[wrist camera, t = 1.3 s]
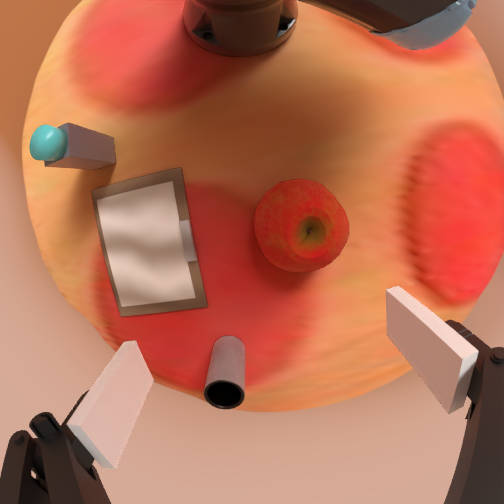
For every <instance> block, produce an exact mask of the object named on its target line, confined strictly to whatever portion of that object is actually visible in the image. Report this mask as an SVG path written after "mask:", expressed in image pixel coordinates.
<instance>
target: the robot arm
mask: <svg viewBox="0 0 504 504" xmlns="http://www.w3.org/2000/svg"><path fill="white" fill-rule="evenodd" d="M299 1H302V2H305V3H307V4H310V5H313V6H316V7H318V8H321V9H323V10H326V11H328V12H331V13H333V14H335V15H337V16H340V17H342V18H344V19H346V20H349V21H351V22H353V23H355V24H357V25H359V26H361V27H363V28H365V29H367V30H368V31H369V32H370V33H372V34H374V35H376V36H382V37H384V38H386V39H388V40H389V41H391V42H393V43H395V44H397V45H399V46H401V47H403V48H405V49H409V50H420V49H421V50H425V49H429V48H432V47H434V46H437V45H439V44H441V43H443V42H444V41H446V40H447V39H449V38H450V37H452V36H453V35H454V34H455V33H456V32H458V31H459V30H460V29H461V28H462V27H463V26H464V25H465V23H466V22H467V21H468V19H469V18H470V16H471V15H472V12H471V9H473V8H474V7H475V6H476V3H477V0H299ZM297 16H298V7H297V3H296V0H186V1H185V5H184V9H183V19H184V23H185V26H186V28H187V31H188V33H189V35H190V36H191V38H192V39H193V40H194V41H195V42H196V43H197V44H198V45H199V46H201V47H203V48H204V49H206V50H208V51H211V52H213V53H216V54H220V55H225V56H235V57H241V56H252V55H257V54H261V53H264V52H267V51H270V50H272V49H274V48H276V47H277V46H279V45H281V44H282V43H283V42H284V41H285V40H286V39H287V38H288V37H289V36H290V35H291V33H292V32H293V30H294V27H295V24H296V20H297ZM386 311H387V336H388V337H389V338H390V340H391V341H392V342H393V343H394V345H395V346H396V347H397V348H398V350H399V351H400V352H401V353H402V355H403V356H404V357H405V358H406V360H407V361H408V362H409V363H410V365H411V366H412V367H413V368H414V370H415V371H416V372H417V373H418V375H419V376H420V377H421V379H422V380H423V381H424V382H425V384H426V385H427V386H428V388H429V389H430V390H431V392H432V393H433V394H434V396H435V397H436V398H437V400H438V401H439V402H440V404H441V405H442V406H443V408H444V409H445V410H446V411H447V413H448V414H450V413H452V412H454V411H456V410H457V409H459V408H461V407H463V406H464V403H465V400H466V397H467V396H468V397H469V398H470V400H471V401H472V402H471V405H470V407H469V410H468V413H467V416H466V418H465V419H468V420H467V425H466V430H465V435H464V439H463V444H462V448H461V452H460V455H459V459H458V463H457V466H456V470H455V473H454V476H453V479H452V482H451V485H450V488H449V491H448V494H447V497H446V499H445V502H444V504H504V348H503V347H495V348H492V349H491V348H490V347H489V346H488V345H486V344H485V343H484V342H483V341H482V340H480V339H479V338H478V337H476V336H475V335H474V334H472V332H470V331H469V330H467V329H466V328H465V327H464V326H463V325H461V324H460V323H458V322H455V321H453V320H448V321H445V322H444V321H443V320H441V319H440V318H439V317H438V316H436V315H435V314H434V313H433V312H432V311H430V310H429V309H428V308H426V307H425V306H424V305H423V304H421V303H420V302H419V301H418V300H416V299H415V298H414V297H412V296H411V295H410V294H409V293H407V292H406V291H405V290H403V289H402V288H401V287H399V286H396V287H392V288H389V289H386ZM153 382H154V379H153V377H152V375H151V373H150V371H149V369H148V367H147V365H146V362H145V360H144V358H143V356H142V354H141V351H140V349H139V347H138V345H137V342H136V340H134V341H126V342H123V344H122V345H121V346H120V348H119V349H118V351H117V352H116V353H115V355H114V356H113V358H112V359H111V360H110V362H109V363H108V364H107V366H106V367H105V369H104V370H103V371H102V373H101V374H100V376H99V377H98V378H97V380H96V381H95V383H94V384H93V386H92V387H91V388H90V390H88V391H87V392H85V393H84V394H83V395H82V396H81V397H80V399H79V400H78V401H77V404H76V405H75V406H74V407H73V410H71V412H70V413H69V415H68V416H67V418H66V419H65V421H64V422H63V423H62V425H61V426H60V425H59V423H58V422H57V421H56V419H55V418H54V416H53V415H52V414H51V413H49V412H43V413H40V414H38V415H36V416H35V417H34V418H33V419H32V420H31V422H30V424H29V427H30V428H31V430H32V431H33V432H34V433H35V435H36V436H37V437H38V438H32V437H31V435H30V434H29V433H28V432H27V431H25V430H21V431H17V432H16V433H14V434H13V435H12V437H11V438H10V440H9V444H8V448H7V451H6V455H5V459H4V463H3V468H2V472H1V477H0V504H111V502H110V500H109V498H108V496H107V494H106V491H105V489H104V488H103V485H102V482H101V480H100V478H99V475H98V473H97V470H96V469H95V467H94V466H93V465H92V463H93V461H94V459H95V460H96V461H97V462H98V463H99V464H100V466H101V467H104V468H110V469H116V468H117V466H118V463H119V461H120V458H121V456H122V453H123V451H124V449H125V446H126V444H127V442H128V439H129V437H130V434H131V432H132V430H133V427H134V425H135V423H136V420H137V418H138V416H139V413H140V411H141V409H142V407H143V404H144V402H145V400H146V398H147V395H148V393H149V391H150V389H151V386H152V384H153ZM31 470H32V471H33V472H34V473H35V474H36V479H35V478H33V477H32V476H31Z"/></svg>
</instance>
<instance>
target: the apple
mask: <svg viewBox="0 0 504 504" xmlns="http://www.w3.org/2000/svg"><path fill="white" fill-rule="evenodd" d="M253 227H254V231H255V236H256V239H257V242H258V244H259V247H260V249H261V251H262V253H263V255H264V256H265V257H266V258H267V259H268V260H269V262H270V263H271V264H273V265H274V266H276V267H278V268H280V269H282V270H285V271H289V272H309V271H314V270H317V269H320V268H323V267H325V266H327V265H328V264H330V263H331V262H332V261H333V260H334V259H335V258H336V257H337V256H338V255H339V254H340V252H341V251H342V249H343V247H344V246H345V244H346V242H347V239H348V236H349V222H348V219H347V216H346V213H345V211H344V209H343V208H342V206H341V205H340V204H339V202H338V201H337V199H336V198H335V197H334V196H333V195H332V194H331V193H330V192H329V191H328V190H327V189H326V188H325V187H324V186H323V185H321V184H319V183H317V182H315V181H310V180H304V179H294V180H288V181H282V182H280V183H279V184H277V185H276V186H274V187H273V188H271V189H270V190H268V191H267V192H266V193H265V195H264V196H263V198H262V199H261V201H260V202H259V204H258V206H257V208H256V211H255V215H254V225H253Z"/></svg>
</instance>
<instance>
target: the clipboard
mask: <svg viewBox="0 0 504 504" xmlns="http://www.w3.org/2000/svg"><path fill="white" fill-rule="evenodd" d="M91 193H92V199H93V205H94V211H95V216H96V221H97V226H98V231H99V236H100V241H101V245H102V250H103V254H104V258H105V262H106V266H107V270H108V274H109V278H110V281H111V285H112V289H113V292H114V296H115V299H116V302H117V305H118V309H119V312H120V315H121V317H122V316H133V315H143V314H152V313H162V312H170V311H179V310H187V309H195V308H203V307H208V303H207V299H206V294H205V290H204V285H203V281H202V276H201V271H200V266H199V261H198V257H197V252H196V247H195V241H194V236H193V231H192V226H191V220H190V215H189V209H188V204H187V198H186V192H185V186H184V180H183V174H182V168H181V167H179V168H175V169H170V170H166V171H162V172H157V173H153V174H149V175H145V176H141V177H137V178H133V179H130V180H126V181H122V182H119V183H115V184H112V185H108V186H105V187H101V188H98V189H95V190H91Z"/></svg>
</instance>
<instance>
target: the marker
mask: <svg viewBox="0 0 504 504" xmlns="http://www.w3.org/2000/svg"><path fill="white" fill-rule="evenodd" d="M30 153H31V156H32V157H33V158H34V159H36V160H44V162H45V167H60V168H75V169H88V170H96V169H99V168H102V167H105V166H108V165H111V164H115V163H116V156H115V148H114V138H113V137H111V136H108V135H105V134H102V133H99V132H96V131H93V130H90V129H87V128H84V127H81V126H78V125H74V124H71V123H66V124H64V125H61V126H59V127H53V126H49V125H42V126H40V127H38V128H37V129H36V130H35V132H34V133H33V135H32V137H31V141H30Z"/></svg>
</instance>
